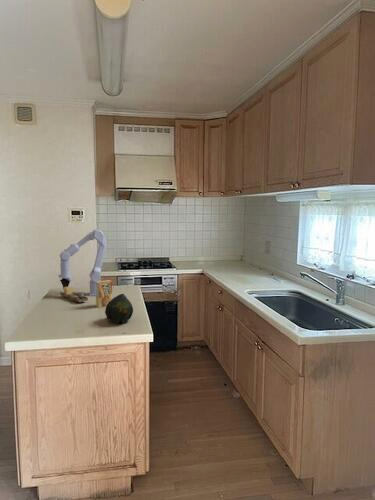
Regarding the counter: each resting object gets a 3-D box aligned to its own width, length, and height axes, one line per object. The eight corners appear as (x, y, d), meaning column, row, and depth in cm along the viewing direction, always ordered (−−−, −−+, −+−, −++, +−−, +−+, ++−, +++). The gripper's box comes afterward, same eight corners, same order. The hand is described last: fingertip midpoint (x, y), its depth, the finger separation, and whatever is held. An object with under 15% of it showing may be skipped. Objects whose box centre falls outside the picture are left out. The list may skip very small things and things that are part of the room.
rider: (72, 293, 242) (72, 287, 241) (66, 294, 239) (66, 288, 239) (69, 292, 245) (69, 286, 244) (63, 293, 242) (63, 287, 241)
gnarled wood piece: (88, 302, 232) (88, 293, 231) (78, 304, 227) (78, 295, 226) (69, 295, 248) (69, 287, 247) (59, 297, 243) (59, 288, 242)
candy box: (109, 304, 229) (109, 279, 227) (112, 305, 225) (112, 281, 223) (95, 306, 223) (95, 281, 221) (99, 308, 220) (98, 282, 218)
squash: (101, 316, 187) (120, 293, 189) (99, 309, 201) (117, 287, 203) (122, 332, 191) (141, 310, 192) (119, 324, 205) (137, 303, 207)
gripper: (54, 268, 244) (54, 288, 246) (64, 271, 234) (65, 292, 236) (64, 267, 249) (64, 287, 251) (75, 270, 239) (75, 291, 241)
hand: (65, 289), depth 244 cm, fingers closed
